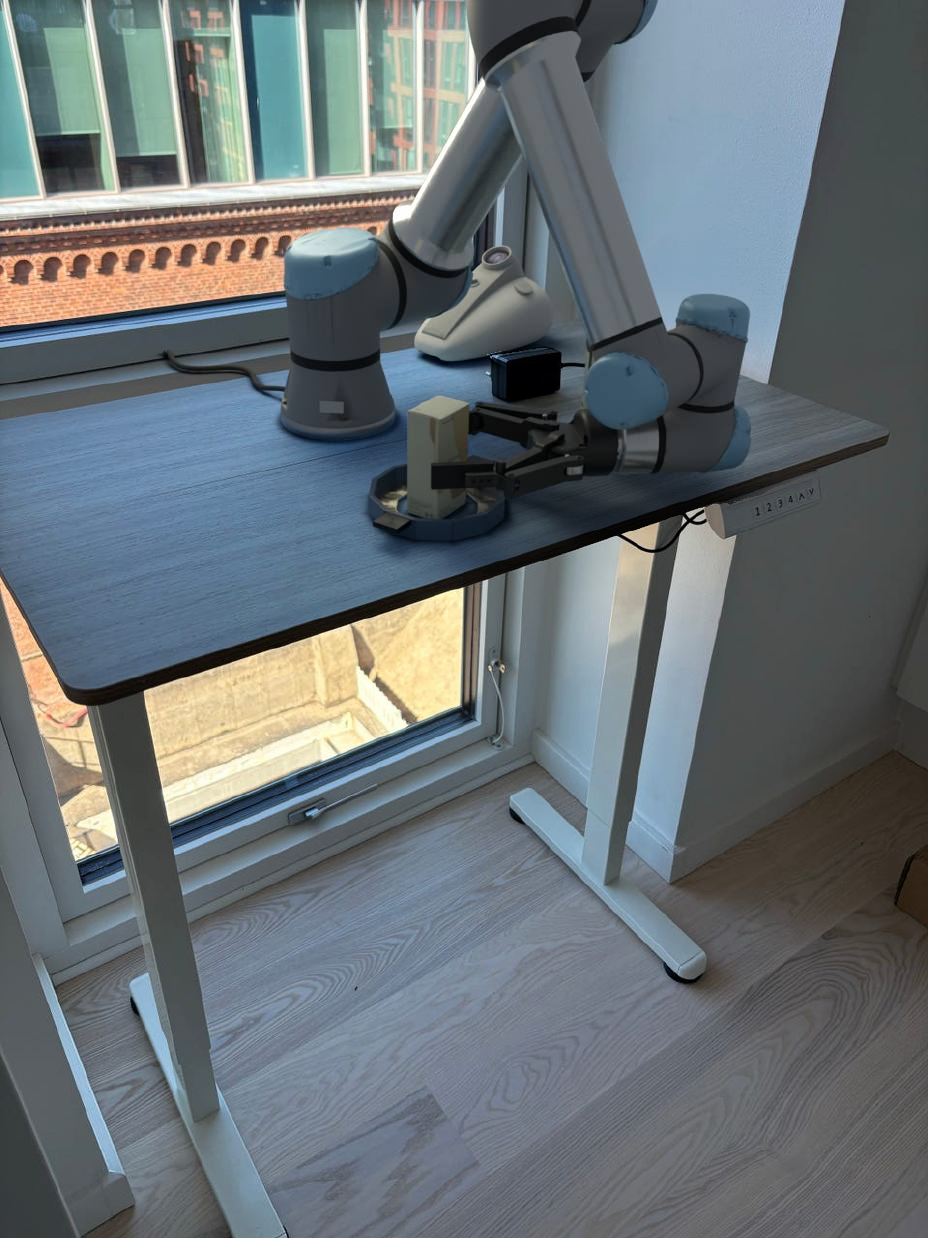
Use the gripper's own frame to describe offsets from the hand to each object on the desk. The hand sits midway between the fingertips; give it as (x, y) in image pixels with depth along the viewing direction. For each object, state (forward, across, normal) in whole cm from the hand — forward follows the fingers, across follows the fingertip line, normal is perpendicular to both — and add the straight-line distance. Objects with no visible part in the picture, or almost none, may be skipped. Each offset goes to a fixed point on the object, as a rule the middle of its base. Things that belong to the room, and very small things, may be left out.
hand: (423, 449), depth 106 cm
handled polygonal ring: (-2, 0, -7) cm, 7 cm away
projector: (-16, +55, -8) cm, 58 cm away
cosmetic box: (-2, 0, -8) cm, 8 cm away
